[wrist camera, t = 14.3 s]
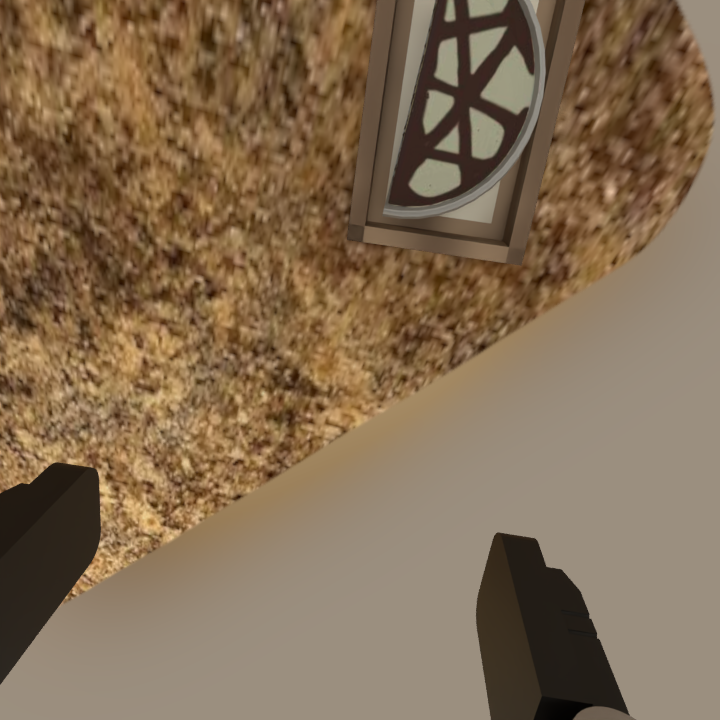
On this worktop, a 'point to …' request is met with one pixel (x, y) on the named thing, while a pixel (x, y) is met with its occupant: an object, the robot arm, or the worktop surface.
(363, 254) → the worktop surface
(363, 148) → the tray
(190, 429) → the worktop surface
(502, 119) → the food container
